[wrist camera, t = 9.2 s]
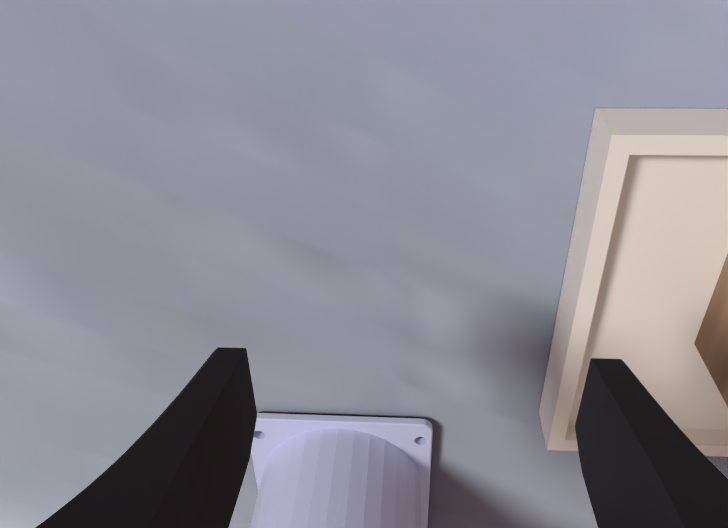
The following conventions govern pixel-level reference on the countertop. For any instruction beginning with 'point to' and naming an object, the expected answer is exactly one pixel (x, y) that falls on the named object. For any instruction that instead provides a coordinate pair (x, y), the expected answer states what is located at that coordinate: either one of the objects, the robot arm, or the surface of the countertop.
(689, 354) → the serving dish
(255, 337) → the countertop surface
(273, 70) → the countertop surface
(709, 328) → the walnut block
